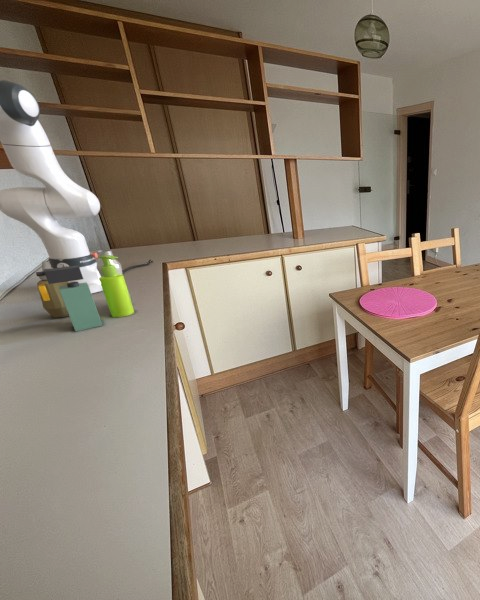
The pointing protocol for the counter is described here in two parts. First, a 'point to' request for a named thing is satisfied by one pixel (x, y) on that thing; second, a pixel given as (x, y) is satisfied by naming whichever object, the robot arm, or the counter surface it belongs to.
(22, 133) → the robot arm
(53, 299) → the squeeze bottle
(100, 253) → the plastic bottle
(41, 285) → the block
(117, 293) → the soap dispenser
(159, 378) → the counter surface
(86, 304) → the spray bottle
